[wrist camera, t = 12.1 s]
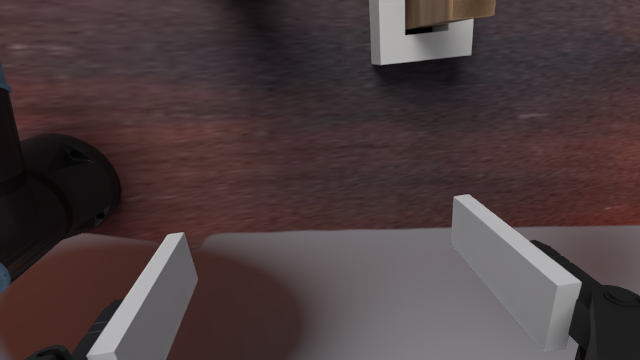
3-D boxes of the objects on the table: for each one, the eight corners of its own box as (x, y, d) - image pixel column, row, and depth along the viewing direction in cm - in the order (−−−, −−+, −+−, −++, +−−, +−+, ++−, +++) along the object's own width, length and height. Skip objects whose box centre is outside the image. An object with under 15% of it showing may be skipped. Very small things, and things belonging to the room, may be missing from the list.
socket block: (371, 63, 46) (380, 65, 42) (367, -34, 42) (377, -45, 37) (453, 54, 47) (471, 54, 42) (457, -43, 43) (478, -55, 38)
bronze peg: (397, 31, 45) (451, 19, 30) (397, -3, 44) (453, -32, 29) (426, 28, 45) (493, 15, 30) (427, -6, 44) (498, -36, 29)
